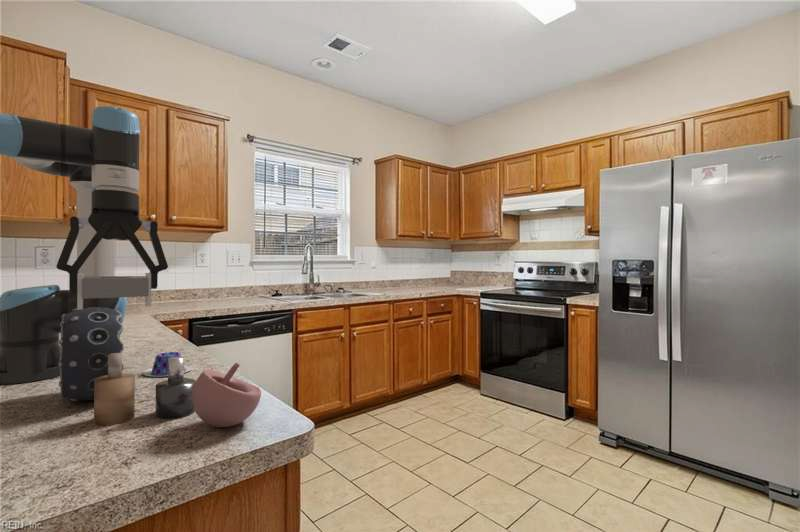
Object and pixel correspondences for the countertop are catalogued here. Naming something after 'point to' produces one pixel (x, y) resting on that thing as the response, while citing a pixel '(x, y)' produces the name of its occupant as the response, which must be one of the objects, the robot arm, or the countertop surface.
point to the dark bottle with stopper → (174, 392)
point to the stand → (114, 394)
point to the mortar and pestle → (224, 398)
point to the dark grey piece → (87, 349)
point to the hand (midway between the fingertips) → (115, 307)
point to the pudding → (163, 365)
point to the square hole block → (114, 286)
